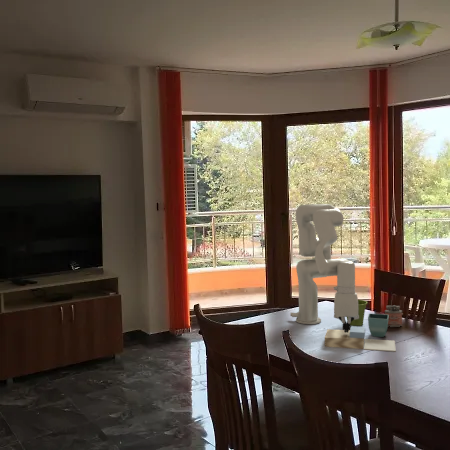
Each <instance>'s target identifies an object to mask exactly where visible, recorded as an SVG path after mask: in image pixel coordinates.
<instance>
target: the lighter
mask: <svg viewBox="0 0 450 450" xmlns="http://www.w3.org/2000/svg"><path fill="white" fill-rule="evenodd" d="M384 314H385V315H389V318H388V327H389V326H390V327H389V328H397V327H398V328H399V327H400V326H402V327H403V317H402V315H403V310H401V309H400V305H395V304H394V305H386V308H385V310H384ZM388 327H387V328H388Z"/></svg>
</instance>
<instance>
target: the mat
mask: <svg viewBox="0 0 450 450" xmlns="http://www.w3.org/2000/svg"><path fill="white" fill-rule="evenodd" d="M363 350H366V351H379V352H397V351H396V341H395V340H393V339H392V340H390V339H389V340H388V339H376V338H375V339H373V338H364V349H363Z"/></svg>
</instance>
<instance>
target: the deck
mask: <svg viewBox="0 0 450 450" xmlns="http://www.w3.org/2000/svg"><path fill="white" fill-rule="evenodd" d="M364 344H365V338H350V330H349V331H348V333H347V332H346V333H345V332H344V330H343V329H330V328H329V329H328V328H327V330H326V332H325V335H324V347H326V348H337V349H338V348H339V349H340V348H342V349H356V350H357V349H358V350H364Z"/></svg>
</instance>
